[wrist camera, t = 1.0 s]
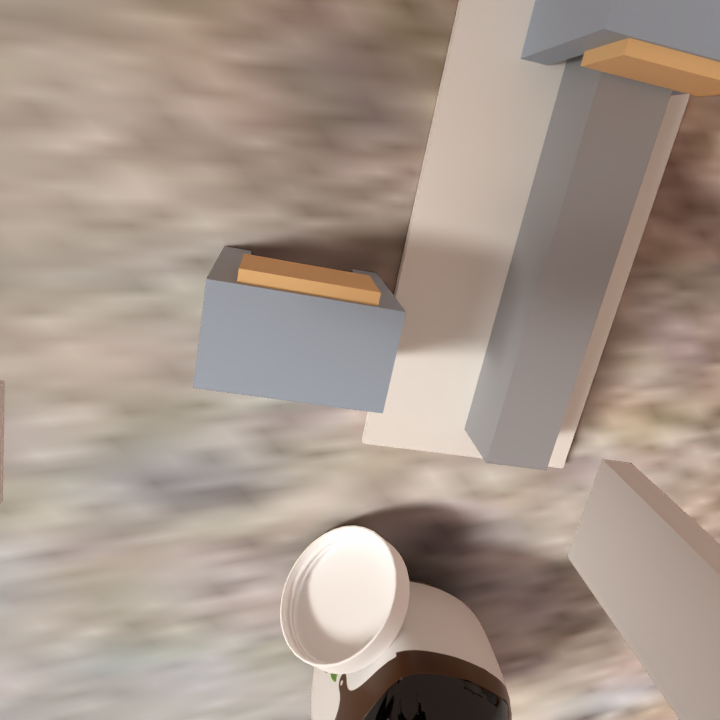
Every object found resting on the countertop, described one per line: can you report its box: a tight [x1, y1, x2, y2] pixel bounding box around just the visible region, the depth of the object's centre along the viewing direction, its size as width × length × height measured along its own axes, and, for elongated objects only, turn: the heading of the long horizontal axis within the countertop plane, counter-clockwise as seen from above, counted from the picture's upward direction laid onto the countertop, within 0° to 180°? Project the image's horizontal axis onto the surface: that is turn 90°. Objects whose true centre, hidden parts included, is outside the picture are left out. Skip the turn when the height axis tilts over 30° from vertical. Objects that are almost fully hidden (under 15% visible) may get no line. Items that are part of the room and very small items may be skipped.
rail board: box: [362, 0, 690, 470], centre depth 26 cm, size 11×27×4 cm, turn 169°
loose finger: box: [193, 246, 406, 413], centre depth 25 cm, size 7×4×7 cm, turn 79°
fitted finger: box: [520, 0, 720, 97], centre depth 22 cm, size 7×4×7 cm, turn 79°
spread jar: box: [280, 526, 512, 720], centre depth 29 cm, size 12×11×12 cm
